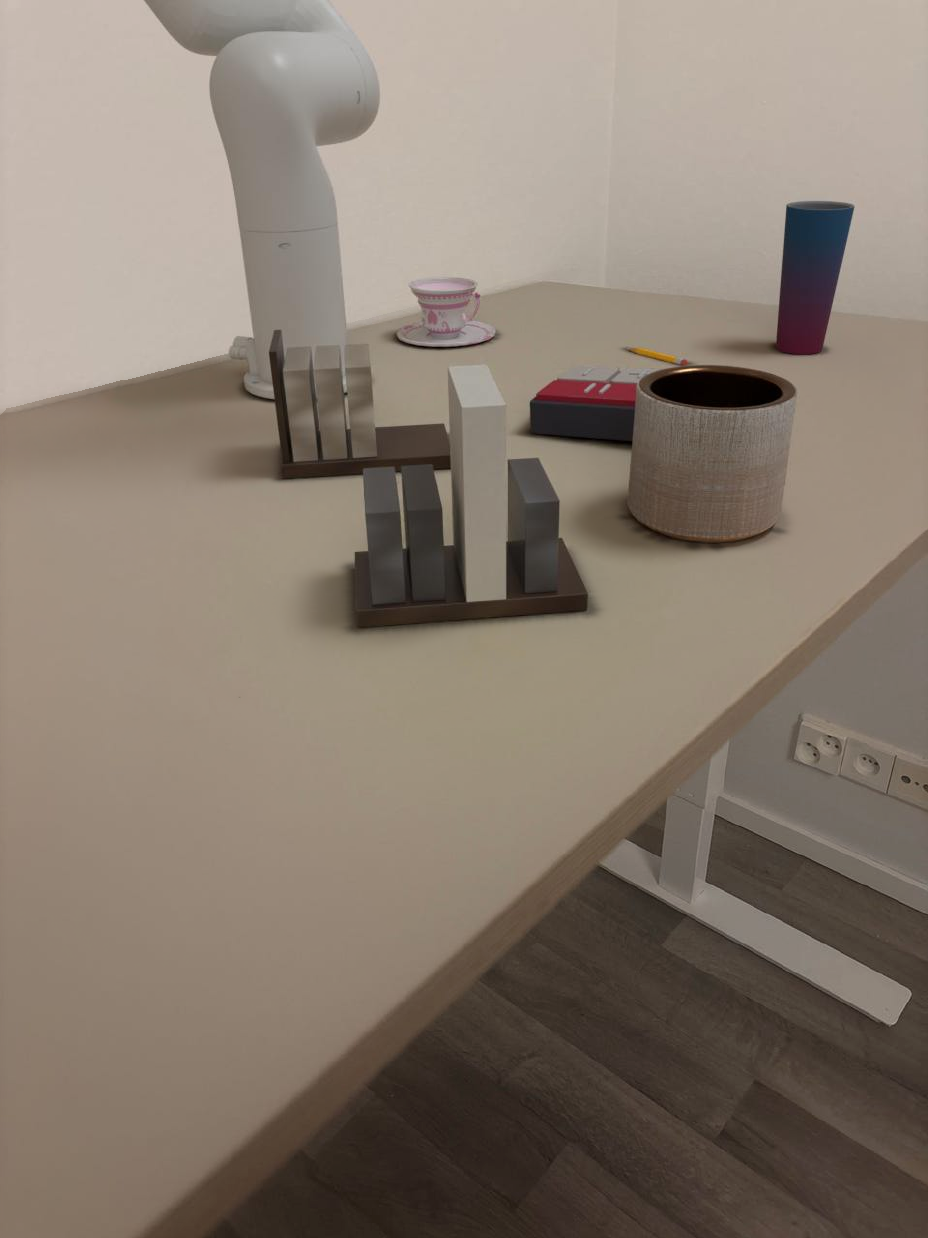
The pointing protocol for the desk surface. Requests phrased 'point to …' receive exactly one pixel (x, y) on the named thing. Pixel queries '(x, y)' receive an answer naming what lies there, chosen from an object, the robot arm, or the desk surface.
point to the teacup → (445, 314)
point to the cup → (810, 272)
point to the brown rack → (341, 417)
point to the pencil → (658, 356)
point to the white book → (478, 480)
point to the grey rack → (429, 571)
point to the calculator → (588, 403)
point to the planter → (710, 451)
